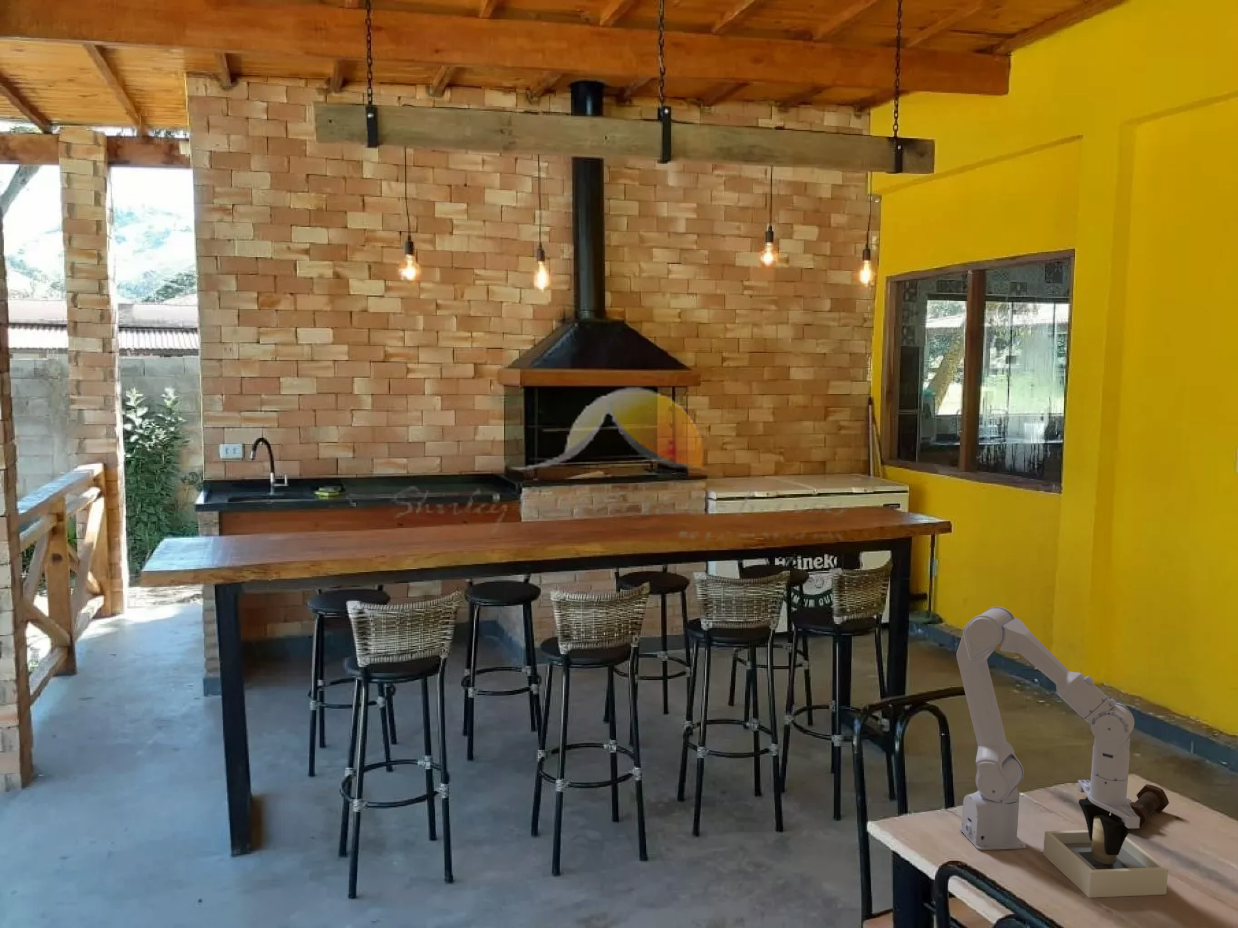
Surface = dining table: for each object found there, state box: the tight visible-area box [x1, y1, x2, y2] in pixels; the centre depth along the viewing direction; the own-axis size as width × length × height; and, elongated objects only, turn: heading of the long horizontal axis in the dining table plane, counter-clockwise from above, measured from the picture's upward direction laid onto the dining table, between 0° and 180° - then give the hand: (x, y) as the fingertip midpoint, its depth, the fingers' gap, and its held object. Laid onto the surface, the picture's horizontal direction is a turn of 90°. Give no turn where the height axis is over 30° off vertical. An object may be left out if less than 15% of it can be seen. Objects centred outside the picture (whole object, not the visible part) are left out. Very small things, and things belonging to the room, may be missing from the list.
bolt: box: [1129, 783, 1170, 831], centre depth 184 cm, size 6×5×15 cm
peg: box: [1091, 815, 1117, 865], centre depth 163 cm, size 4×4×7 cm
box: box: [1042, 829, 1169, 899], centre depth 163 cm, size 14×14×4 cm
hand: (1104, 847), depth 163 cm, fingers closed on peg, 4 cm apart
